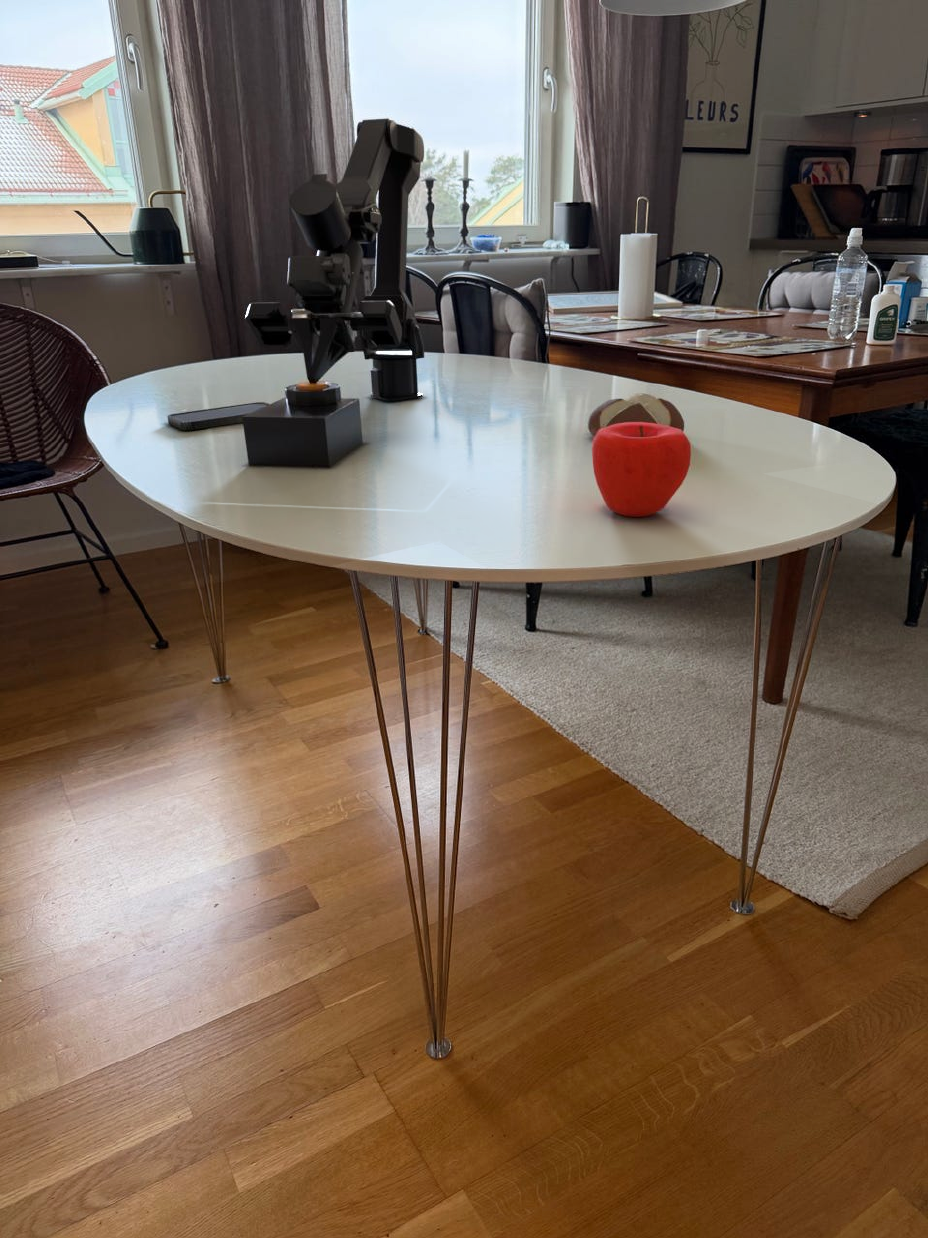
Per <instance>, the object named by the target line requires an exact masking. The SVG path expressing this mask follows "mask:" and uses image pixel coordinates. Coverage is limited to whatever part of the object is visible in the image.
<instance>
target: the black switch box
mask: <svg viewBox="0 0 928 1238" xmlns="http://www.w3.org/2000/svg"><path fill="white" fill-rule="evenodd" d="M326 382H327V388H323V389H313V390H300V389H298V388H297V384H298V383H297V384H291V385H288V386H286V387H284V395H285V397H283V398H281V399H279V400H278V399H277V400H276V401H273V402H271V403H269V405H267V406H265V407H263V408H261V409H258V410H256V411H254V412H252V413H250V414H247V415H245V416H243V417H242V419H243V422H242V427H243V433H244V440H245V446H246V447H245V448H246V455H247V456H246V457H247V464H248V466H250V467H251V466H252V467H284V468H285V467H286V468H315V469H316V468H317V469H319V468H320V469H321V468H323V469H330V468H331V467H333V466H334V465H336V464H337V463H338V462H340V461H341V460H342V459H344V458H345V457H347V456H348V455H349V454H351V453H352V452H354V451H355V450H357V449H358V448H360V446H362V445H363V444H364V441H363V431H362V430H363V429H362V419H361V418H362V417H361V405H360V398H357V397H356V398H350V397H349V398H348V397H347V398H346V397H345V398H344V397H342V392H341V385H340V384H339V383H335V382H329V381H326Z"/></svg>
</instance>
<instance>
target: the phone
mask: <svg viewBox="0 0 928 1238" xmlns="http://www.w3.org/2000/svg"><path fill="white" fill-rule="evenodd" d="M269 404H270V403H268V402H265V401H258V402H256V401H255V402H249V403H248V402H247V403H242V404H233V405H228V406H220V407H213V408H205V409H198V410H190V411H185V412H184V411H183V412H176V413H171V414H168V415H167V416H166V417H167V423H168V425H171V426H172V427H175V428H177V429H179V430H181V431H194V430H199V429H207V428H214V427H220V426H221V427H222V426H227V425H233V424H235V425H236V424H241V423H243V419H242V417H243V416H245V415H247V414H250V413H252V412H254V411H256V410H258V409H261V408H263V407H265V406H267V405H269Z"/></svg>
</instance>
